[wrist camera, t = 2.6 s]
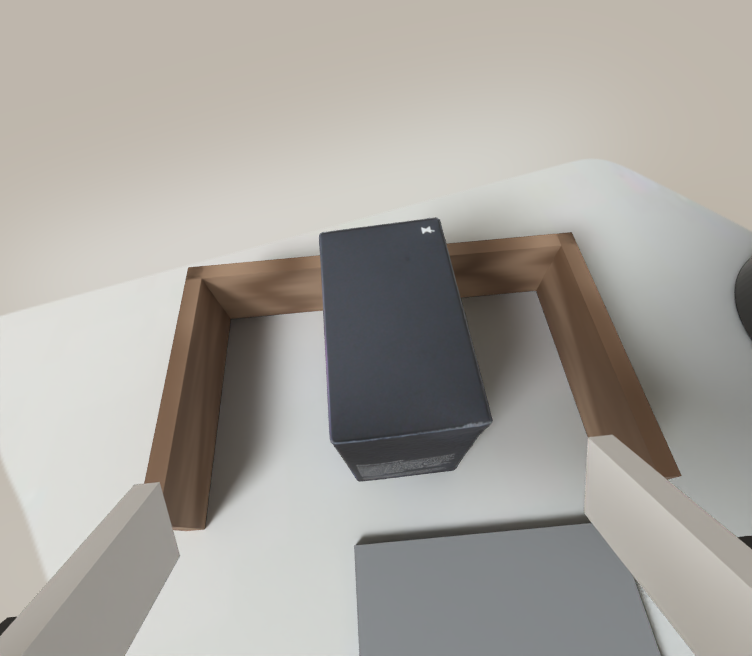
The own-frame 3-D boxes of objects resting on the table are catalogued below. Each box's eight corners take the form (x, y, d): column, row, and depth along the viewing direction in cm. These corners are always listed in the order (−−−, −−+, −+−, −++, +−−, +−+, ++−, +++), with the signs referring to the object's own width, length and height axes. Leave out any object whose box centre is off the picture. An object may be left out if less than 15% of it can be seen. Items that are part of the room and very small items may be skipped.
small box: (339, 330, 28) (312, 226, 19) (427, 319, 28) (443, 211, 19) (350, 485, 23) (321, 445, 14) (459, 471, 23) (503, 422, 14)
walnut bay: (545, 278, 29) (571, 232, 25) (624, 489, 22) (681, 475, 17) (218, 308, 29) (188, 267, 25) (187, 530, 22) (135, 527, 17)
